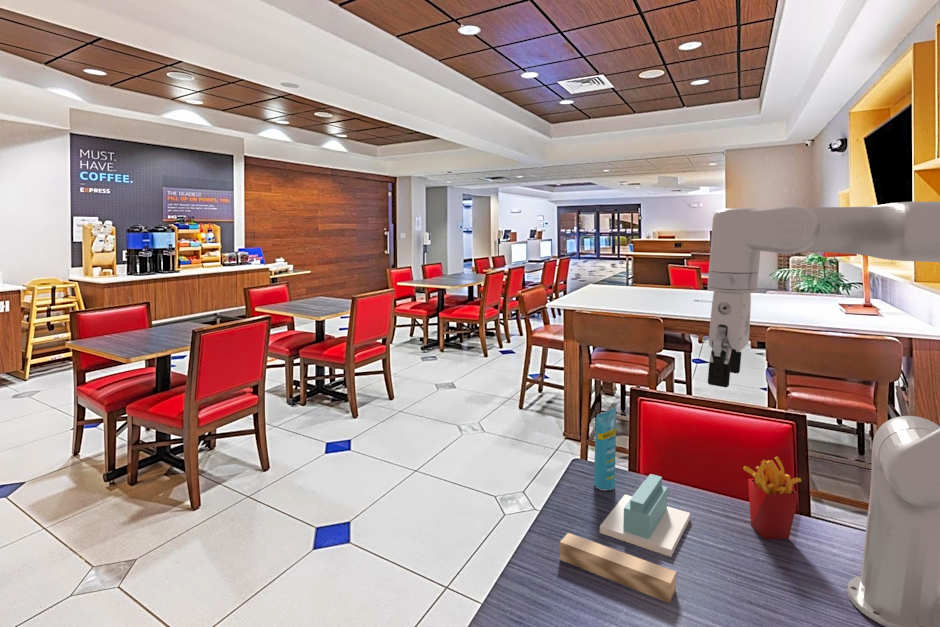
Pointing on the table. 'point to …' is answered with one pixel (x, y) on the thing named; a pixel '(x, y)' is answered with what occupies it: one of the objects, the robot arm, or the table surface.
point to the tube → (605, 450)
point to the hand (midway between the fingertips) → (724, 378)
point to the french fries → (772, 500)
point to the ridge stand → (647, 519)
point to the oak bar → (619, 567)
